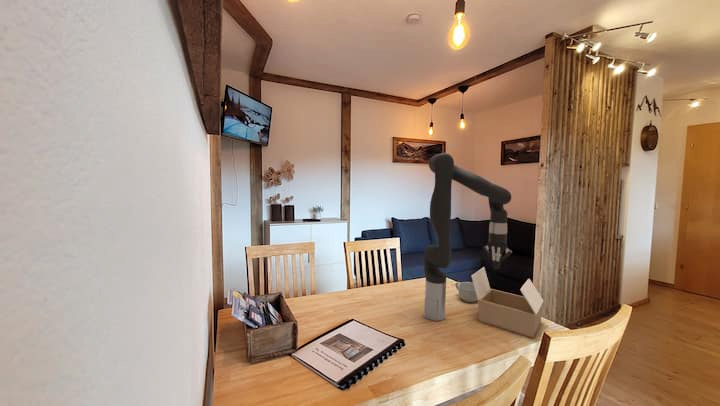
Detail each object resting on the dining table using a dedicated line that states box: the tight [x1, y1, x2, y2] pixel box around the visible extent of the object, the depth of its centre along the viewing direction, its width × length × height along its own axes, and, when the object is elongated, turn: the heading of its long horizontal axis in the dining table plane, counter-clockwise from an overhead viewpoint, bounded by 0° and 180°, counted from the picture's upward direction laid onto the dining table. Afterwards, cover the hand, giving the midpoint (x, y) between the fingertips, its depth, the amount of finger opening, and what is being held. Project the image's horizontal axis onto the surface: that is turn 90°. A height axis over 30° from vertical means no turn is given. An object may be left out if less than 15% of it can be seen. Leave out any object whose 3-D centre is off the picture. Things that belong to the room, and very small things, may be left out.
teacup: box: [454, 281, 479, 303], centre depth 156 cm, size 14×11×8 cm
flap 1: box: [470, 266, 491, 300], centre depth 139 cm, size 17×11×1 cm
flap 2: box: [519, 278, 545, 315], centre depth 125 cm, size 17×11×1 cm
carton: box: [477, 288, 543, 340], centre depth 131 cm, size 18×22×10 cm
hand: (496, 268), depth 136 cm, fingers closed
